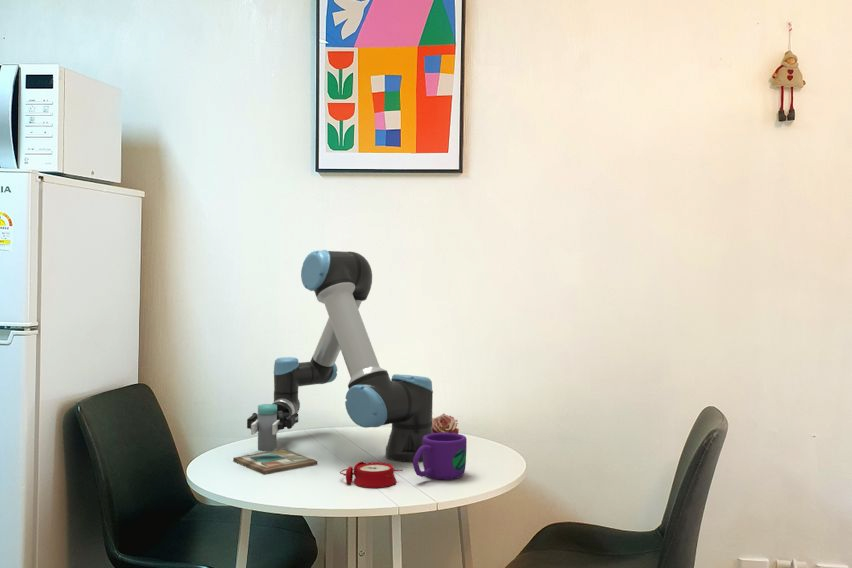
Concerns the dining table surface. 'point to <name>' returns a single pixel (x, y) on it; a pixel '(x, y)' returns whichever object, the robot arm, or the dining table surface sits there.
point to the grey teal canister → (266, 427)
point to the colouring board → (275, 461)
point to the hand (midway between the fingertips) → (263, 429)
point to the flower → (444, 424)
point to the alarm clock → (371, 474)
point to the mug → (442, 456)
